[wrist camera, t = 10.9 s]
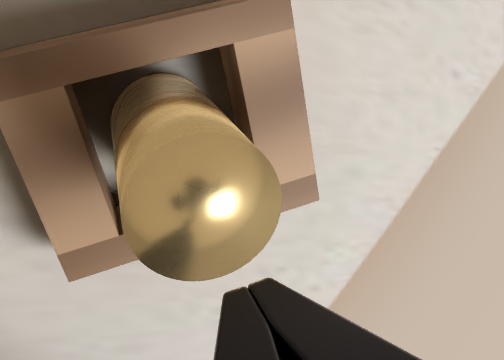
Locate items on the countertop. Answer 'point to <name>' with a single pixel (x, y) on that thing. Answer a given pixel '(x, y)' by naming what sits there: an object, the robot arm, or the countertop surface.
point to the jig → (132, 56)
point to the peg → (189, 182)
